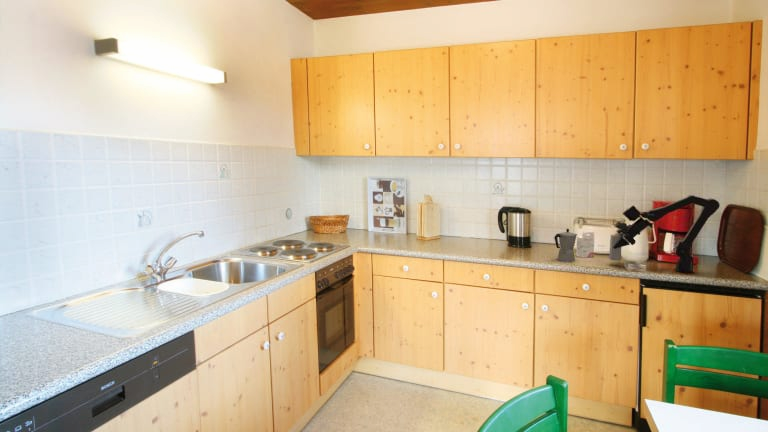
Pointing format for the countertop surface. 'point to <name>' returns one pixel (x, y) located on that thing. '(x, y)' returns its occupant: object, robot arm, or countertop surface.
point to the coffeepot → (566, 246)
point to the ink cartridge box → (585, 245)
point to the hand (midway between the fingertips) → (612, 247)
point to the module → (614, 253)
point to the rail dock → (634, 266)
